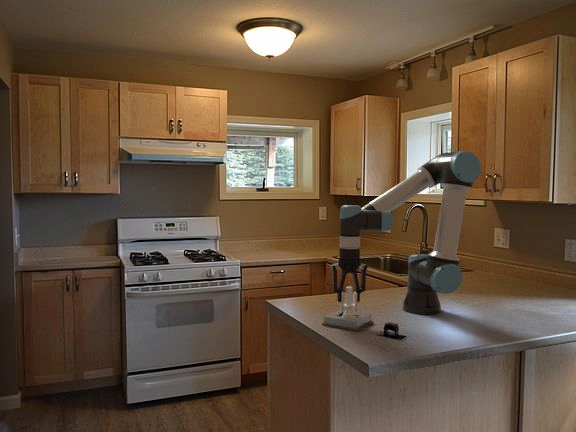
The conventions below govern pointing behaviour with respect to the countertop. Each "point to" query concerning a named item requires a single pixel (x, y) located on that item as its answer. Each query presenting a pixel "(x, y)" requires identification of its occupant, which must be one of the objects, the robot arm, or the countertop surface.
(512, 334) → the countertop surface
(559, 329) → the countertop surface
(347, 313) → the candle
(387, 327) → the black bracket mount
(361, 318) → the block
